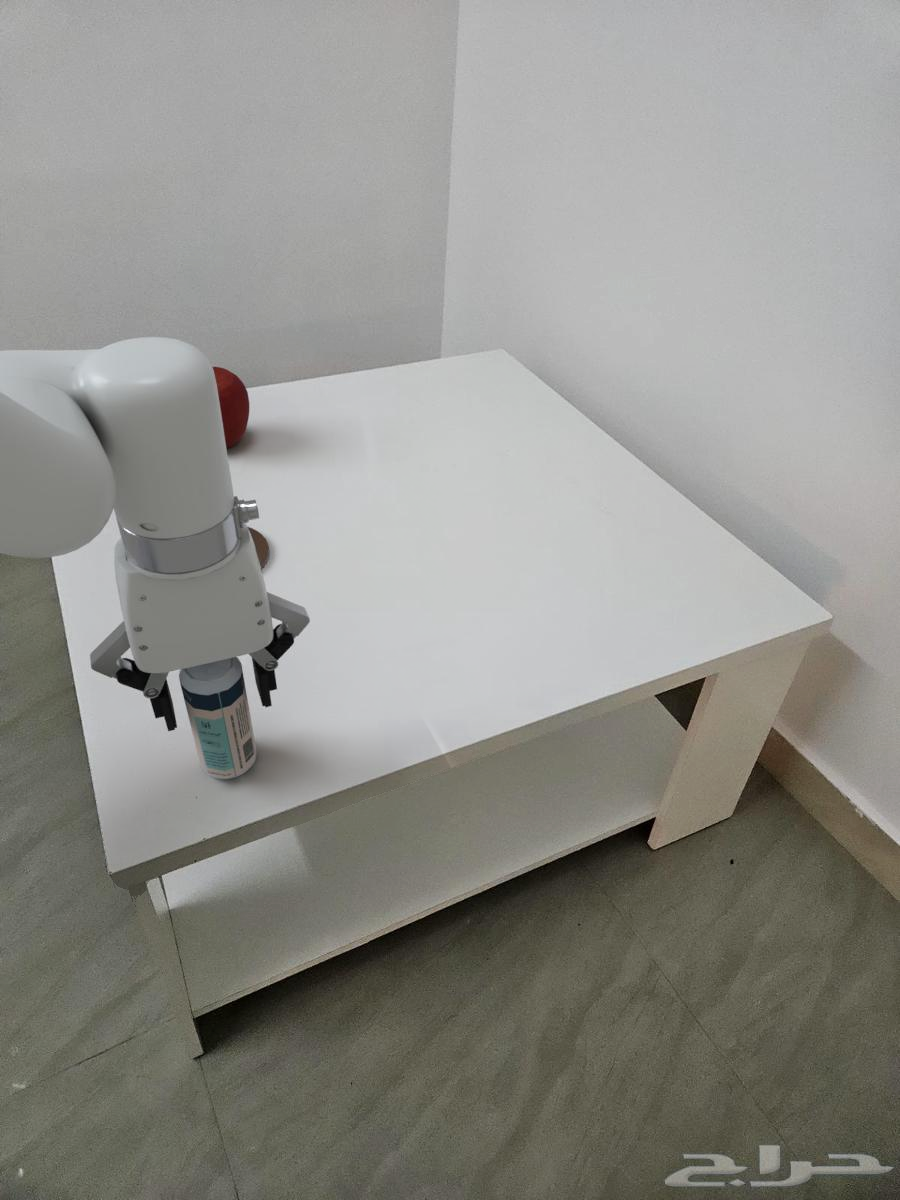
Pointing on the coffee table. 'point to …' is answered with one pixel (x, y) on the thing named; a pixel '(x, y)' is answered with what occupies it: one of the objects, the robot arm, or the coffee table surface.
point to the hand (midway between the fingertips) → (217, 704)
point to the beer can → (219, 717)
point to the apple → (232, 405)
